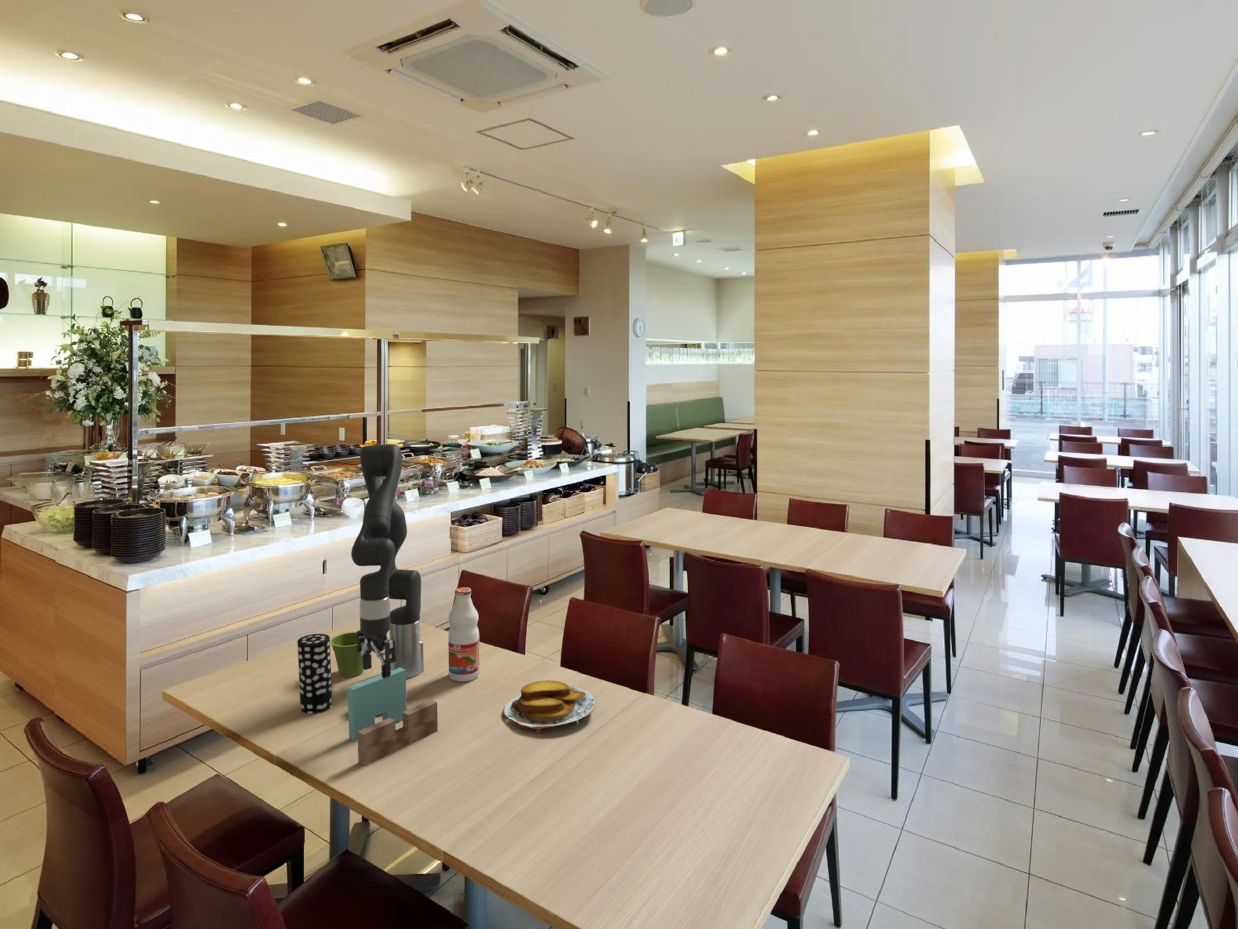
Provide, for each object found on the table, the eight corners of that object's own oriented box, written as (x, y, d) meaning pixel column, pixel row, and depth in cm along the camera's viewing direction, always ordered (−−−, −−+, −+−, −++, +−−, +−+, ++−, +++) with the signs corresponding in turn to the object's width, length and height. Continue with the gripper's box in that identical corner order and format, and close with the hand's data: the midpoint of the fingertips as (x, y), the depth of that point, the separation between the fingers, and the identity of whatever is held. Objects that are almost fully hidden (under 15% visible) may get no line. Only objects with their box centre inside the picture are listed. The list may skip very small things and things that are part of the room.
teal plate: (349, 738, 187) (347, 687, 185) (401, 715, 200) (400, 667, 198) (354, 741, 186) (352, 690, 184) (406, 718, 198) (405, 669, 197)
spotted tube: (324, 714, 200) (322, 645, 197) (295, 713, 200) (291, 644, 198) (337, 700, 208) (334, 634, 206) (308, 699, 208) (305, 633, 206)
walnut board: (432, 728, 193) (431, 699, 192) (437, 730, 192) (437, 702, 191) (358, 762, 176) (357, 731, 175) (364, 765, 175) (363, 734, 174)
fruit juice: (485, 672, 229) (484, 587, 225) (469, 684, 220) (468, 595, 216) (459, 668, 232) (458, 583, 228) (442, 679, 223) (441, 592, 219)
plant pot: (332, 667, 231) (331, 633, 229) (371, 663, 234) (370, 630, 233) (329, 683, 220) (328, 647, 218) (370, 678, 223) (369, 643, 222)
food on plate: (548, 746, 186) (548, 721, 185) (485, 715, 202) (484, 692, 201) (614, 710, 205) (615, 688, 204) (552, 684, 222) (551, 663, 221)
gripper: (403, 616, 187) (404, 675, 189) (371, 604, 196) (373, 662, 198) (378, 623, 181) (379, 685, 183) (346, 611, 190) (348, 670, 192)
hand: (376, 673), depth 191 cm, fingers open, 8 cm apart
